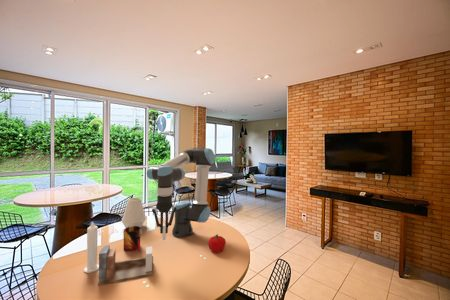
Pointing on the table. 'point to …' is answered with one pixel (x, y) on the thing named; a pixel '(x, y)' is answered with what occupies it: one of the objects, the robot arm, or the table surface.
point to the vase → (134, 213)
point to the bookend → (148, 259)
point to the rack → (120, 267)
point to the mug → (132, 238)
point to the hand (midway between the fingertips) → (163, 238)
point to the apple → (217, 243)
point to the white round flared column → (92, 249)
